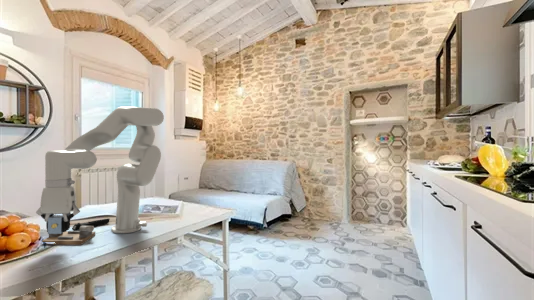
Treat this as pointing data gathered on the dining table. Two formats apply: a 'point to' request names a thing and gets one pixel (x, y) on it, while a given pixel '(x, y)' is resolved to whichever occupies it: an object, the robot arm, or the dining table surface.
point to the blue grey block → (55, 224)
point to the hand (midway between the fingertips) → (58, 230)
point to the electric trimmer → (91, 224)
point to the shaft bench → (72, 236)
